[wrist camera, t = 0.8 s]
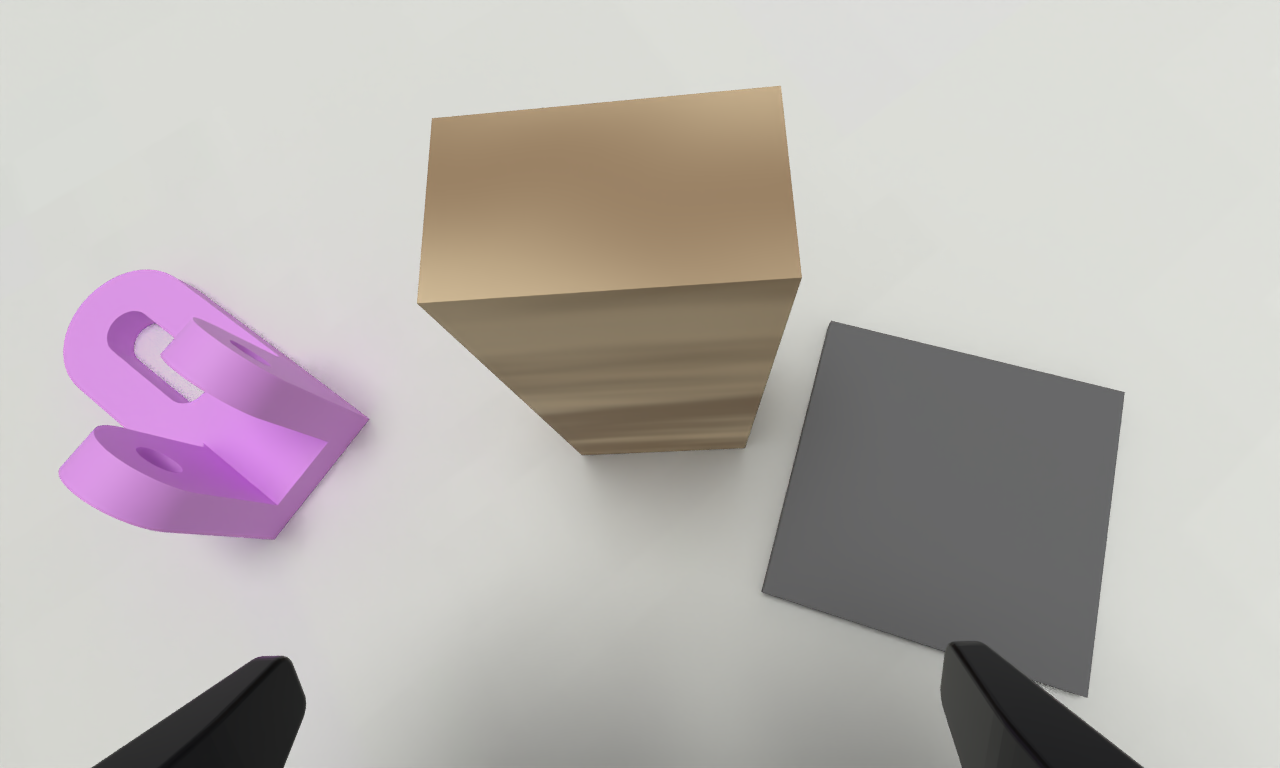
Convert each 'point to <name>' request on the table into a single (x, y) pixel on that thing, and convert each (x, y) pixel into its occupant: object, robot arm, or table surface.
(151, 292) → the bracket
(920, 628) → the charcoal mat
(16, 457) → the table surface
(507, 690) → the table surface
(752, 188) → the wooden block
